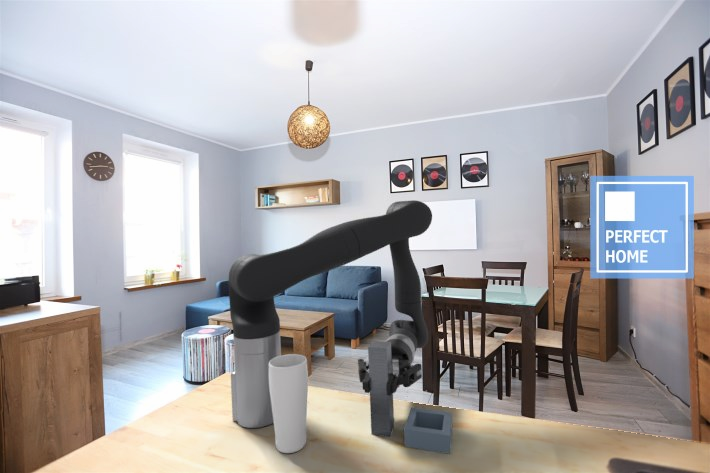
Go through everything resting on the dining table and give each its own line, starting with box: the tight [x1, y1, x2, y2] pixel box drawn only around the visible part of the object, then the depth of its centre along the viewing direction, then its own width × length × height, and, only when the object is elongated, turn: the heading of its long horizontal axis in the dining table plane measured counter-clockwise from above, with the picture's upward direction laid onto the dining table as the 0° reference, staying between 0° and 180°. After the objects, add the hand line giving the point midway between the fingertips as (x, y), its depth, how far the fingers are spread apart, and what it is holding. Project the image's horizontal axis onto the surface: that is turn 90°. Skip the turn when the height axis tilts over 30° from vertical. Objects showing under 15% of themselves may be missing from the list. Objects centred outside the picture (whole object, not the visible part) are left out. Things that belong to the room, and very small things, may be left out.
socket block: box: [403, 406, 453, 455], centre depth 60 cm, size 8×8×3 cm
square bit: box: [367, 340, 395, 438], centre depth 63 cm, size 4×4×16 cm
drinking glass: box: [268, 353, 309, 454], centre depth 59 cm, size 7×7×15 cm
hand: (377, 388), depth 60 cm, fingers closed on square bit, 3 cm apart
